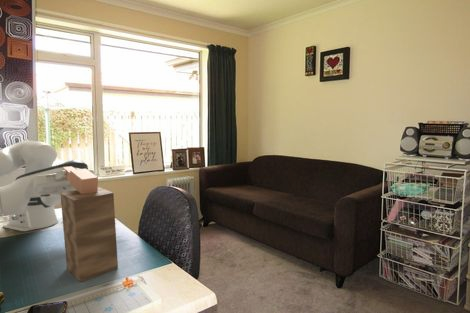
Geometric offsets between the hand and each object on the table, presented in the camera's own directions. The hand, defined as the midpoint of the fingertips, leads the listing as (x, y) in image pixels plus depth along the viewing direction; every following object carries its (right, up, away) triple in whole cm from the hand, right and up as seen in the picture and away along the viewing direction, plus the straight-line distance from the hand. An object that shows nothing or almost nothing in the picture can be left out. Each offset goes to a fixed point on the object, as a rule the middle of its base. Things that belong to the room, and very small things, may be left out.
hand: (71, 171), depth 110 cm
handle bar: (+4, -4, -3) cm, 6 cm away
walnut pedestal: (+10, -32, -6) cm, 34 cm away
